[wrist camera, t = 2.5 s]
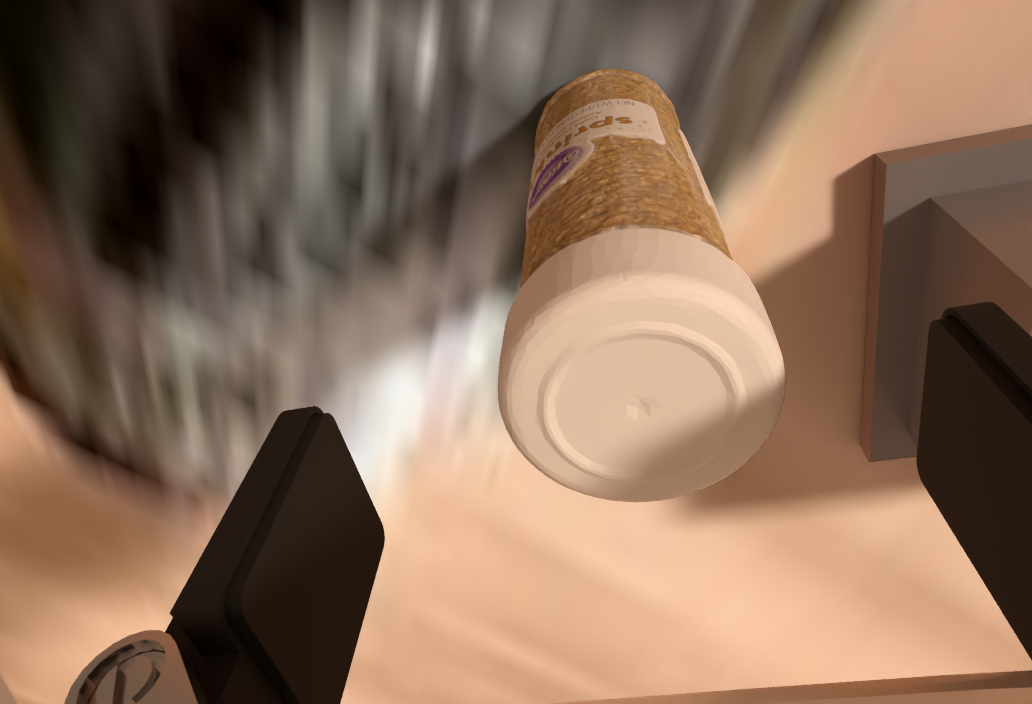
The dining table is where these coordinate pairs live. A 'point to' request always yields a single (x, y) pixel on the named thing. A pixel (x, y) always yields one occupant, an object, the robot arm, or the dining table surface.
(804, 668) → the dining table surface
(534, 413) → the sprinkles bottle
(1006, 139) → the well
